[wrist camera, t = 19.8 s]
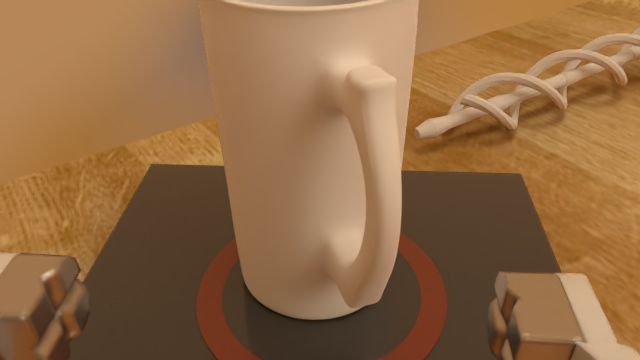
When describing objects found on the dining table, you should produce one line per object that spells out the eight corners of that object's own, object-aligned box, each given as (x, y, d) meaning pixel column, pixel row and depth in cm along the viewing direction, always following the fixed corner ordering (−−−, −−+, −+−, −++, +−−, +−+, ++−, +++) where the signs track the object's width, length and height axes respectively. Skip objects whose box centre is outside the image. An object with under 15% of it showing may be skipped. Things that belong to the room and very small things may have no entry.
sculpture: (385, 142, 37) (677, 35, 47) (430, 196, 34) (729, 69, 45) (406, 51, 31) (731, -48, 42) (461, 106, 28) (795, -15, 39)
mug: (223, 232, 25) (182, -43, 18) (360, 203, 27) (369, -60, 20) (278, 428, 17) (242, 75, 11) (466, 370, 19) (541, 32, 12)
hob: (-30, 532, 17) (-52, 506, 16) (155, 185, 31) (150, 161, 30) (660, 581, 15) (681, 556, 14) (516, 195, 30) (521, 171, 29)
